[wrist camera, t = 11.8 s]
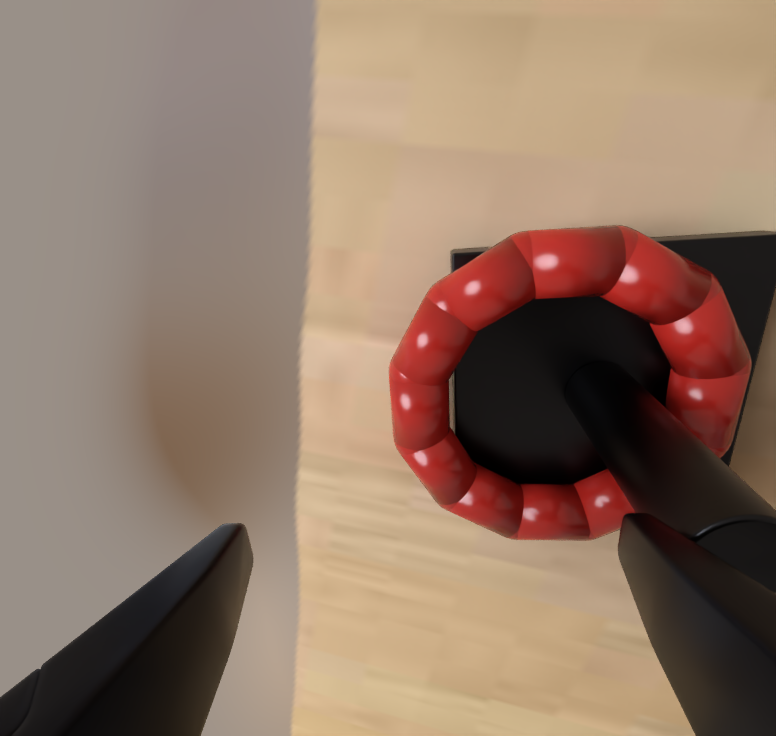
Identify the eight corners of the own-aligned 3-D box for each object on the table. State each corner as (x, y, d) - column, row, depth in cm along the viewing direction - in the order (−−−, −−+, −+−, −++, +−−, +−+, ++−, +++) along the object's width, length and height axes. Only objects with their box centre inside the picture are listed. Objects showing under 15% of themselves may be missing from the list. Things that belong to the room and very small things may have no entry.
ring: (756, 213, 12) (810, 217, 10) (687, 515, 15) (718, 555, 14) (382, 236, 13) (375, 243, 11) (402, 513, 16) (398, 549, 15)
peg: (765, 230, 13) (1235, 286, 5) (703, 487, 16) (937, 743, 9) (450, 248, 14) (472, 319, 6) (454, 487, 17) (472, 717, 10)
